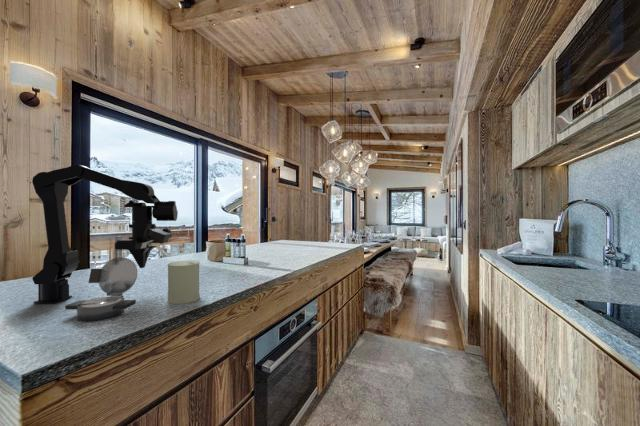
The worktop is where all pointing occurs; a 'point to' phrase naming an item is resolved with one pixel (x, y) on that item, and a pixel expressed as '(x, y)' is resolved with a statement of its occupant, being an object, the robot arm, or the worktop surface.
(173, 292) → the can
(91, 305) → the pot
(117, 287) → the lid
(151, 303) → the worktop surface
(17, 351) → the worktop surface
